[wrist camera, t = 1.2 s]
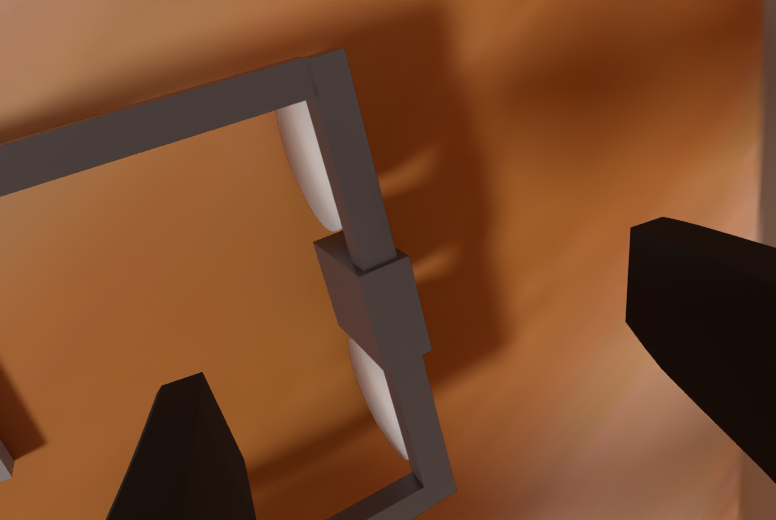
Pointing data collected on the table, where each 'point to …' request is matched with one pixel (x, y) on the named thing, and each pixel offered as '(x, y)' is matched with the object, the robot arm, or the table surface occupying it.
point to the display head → (5, 463)
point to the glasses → (335, 252)
